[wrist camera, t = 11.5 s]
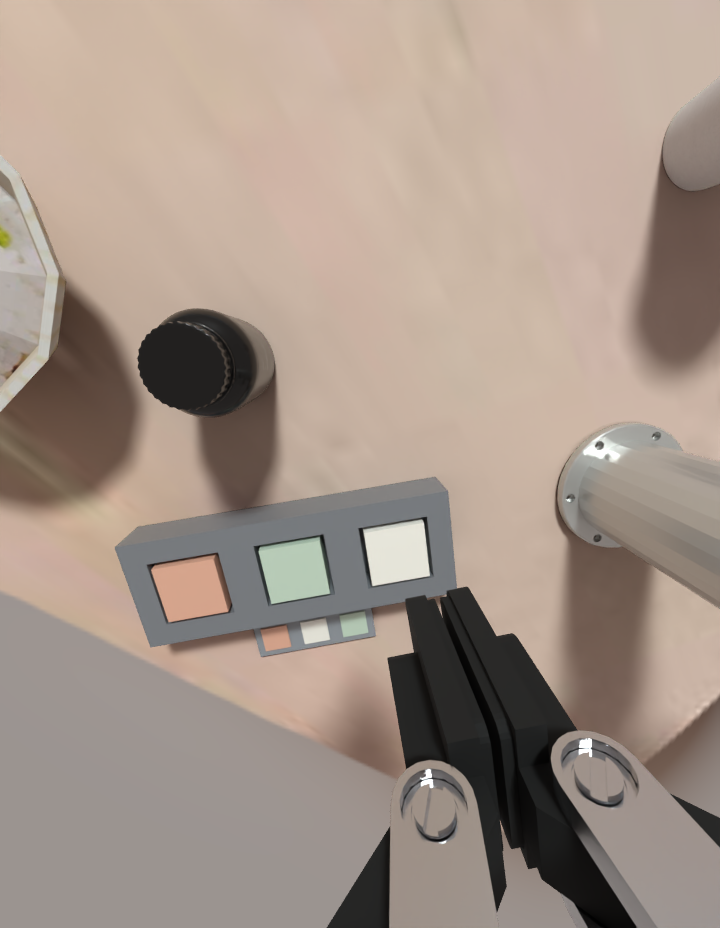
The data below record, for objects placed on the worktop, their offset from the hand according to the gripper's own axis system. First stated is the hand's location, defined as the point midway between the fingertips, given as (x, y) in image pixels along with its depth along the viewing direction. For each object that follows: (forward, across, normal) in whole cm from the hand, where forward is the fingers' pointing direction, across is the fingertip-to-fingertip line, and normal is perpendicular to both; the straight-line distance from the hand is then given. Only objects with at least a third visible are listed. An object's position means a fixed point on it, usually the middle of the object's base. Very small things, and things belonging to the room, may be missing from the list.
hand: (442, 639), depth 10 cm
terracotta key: (+25, +17, +9) cm, 31 cm away
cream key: (+25, -1, +10) cm, 27 cm away
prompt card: (+26, +9, +18) cm, 33 cm away
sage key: (+25, +8, +9) cm, 28 cm away
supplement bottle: (+26, +10, -9) cm, 29 cm away
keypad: (+26, +8, +9) cm, 29 cm away
